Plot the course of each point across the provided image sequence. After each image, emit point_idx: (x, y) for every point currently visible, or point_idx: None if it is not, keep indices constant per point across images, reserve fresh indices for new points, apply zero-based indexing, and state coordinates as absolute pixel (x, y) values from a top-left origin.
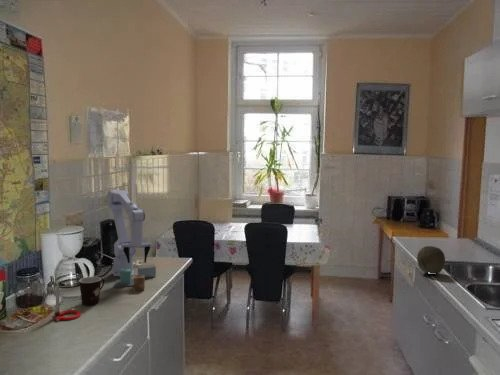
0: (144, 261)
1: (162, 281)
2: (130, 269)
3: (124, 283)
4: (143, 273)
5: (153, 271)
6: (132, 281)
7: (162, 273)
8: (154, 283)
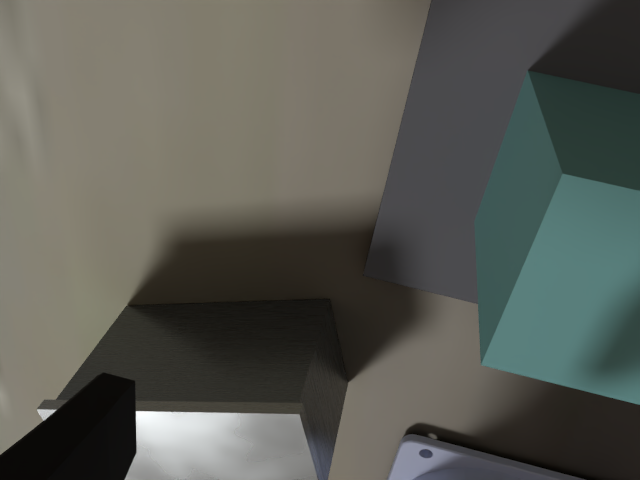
0: (112, 398)
1: (10, 80)
2: (508, 317)
3: (634, 97)
4: (259, 349)
5: (115, 357)
6: (460, 182)
7: (60, 383)
8: (119, 16)
